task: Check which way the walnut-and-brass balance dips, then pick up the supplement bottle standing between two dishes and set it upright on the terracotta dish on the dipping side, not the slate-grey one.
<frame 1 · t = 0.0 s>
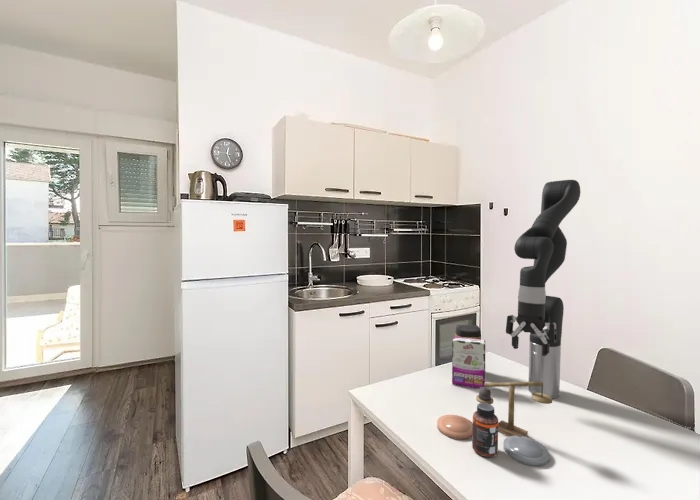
hand: (529, 351, 105), 17 cm above the table, tool pointing down, fingers open, 8 cm apart
coffee jar: (467, 372, 132), on the table
candy bar box: (468, 385, 121), on the table
slate dish: (525, 452, 83), on the table
supplement bottle: (484, 451, 84), on the table
terracotta dish: (455, 428, 94), on the table
balance: (510, 432, 92), on the table
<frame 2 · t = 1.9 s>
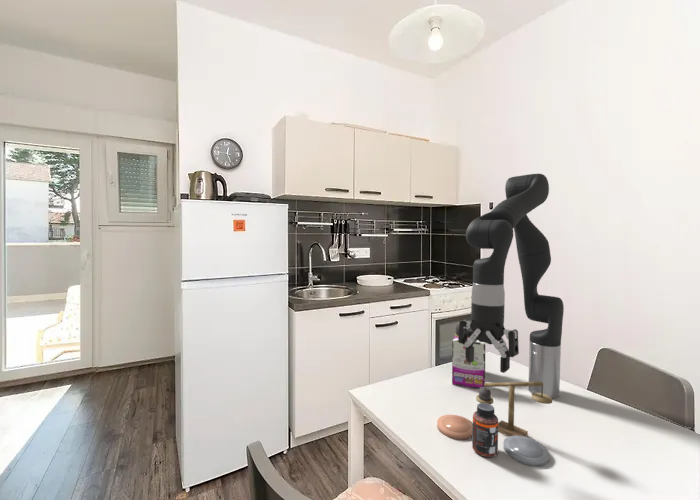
hand: (486, 366, 83), 21 cm above the table, tool pointing down, fingers open, 8 cm apart
nothing on the table moved.
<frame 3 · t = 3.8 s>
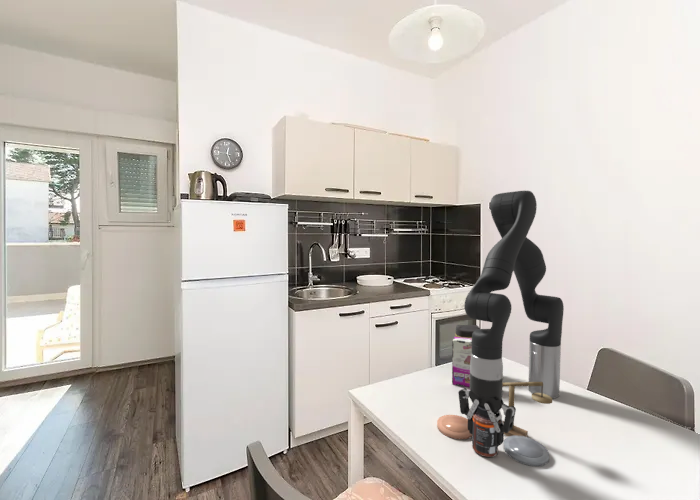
hand: (484, 438, 84), 3 cm above the table, tool pointing down, fingers closed on supplement bottle, 6 cm apart
supplement bottle: (484, 451, 84), on the table, touching gripper
everything else where it was.
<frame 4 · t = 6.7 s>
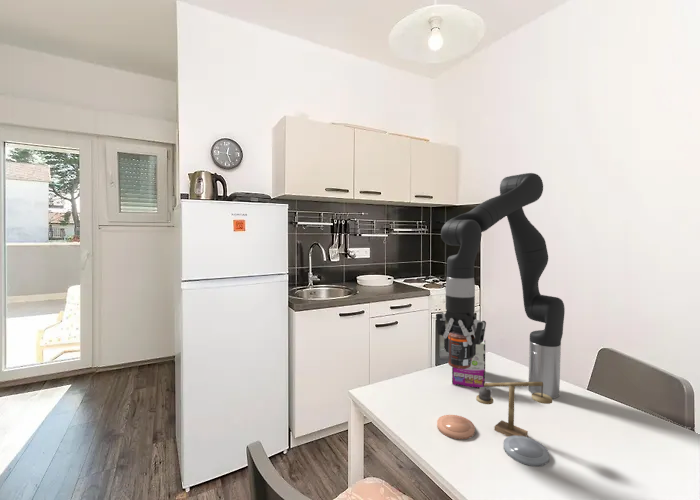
hand: (459, 354, 92), 21 cm above the table, tool pointing down, fingers closed on supplement bottle, 6 cm apart
supplement bottle: (459, 366, 92), point 18 cm above the table, touching gripper
everything else where it was.
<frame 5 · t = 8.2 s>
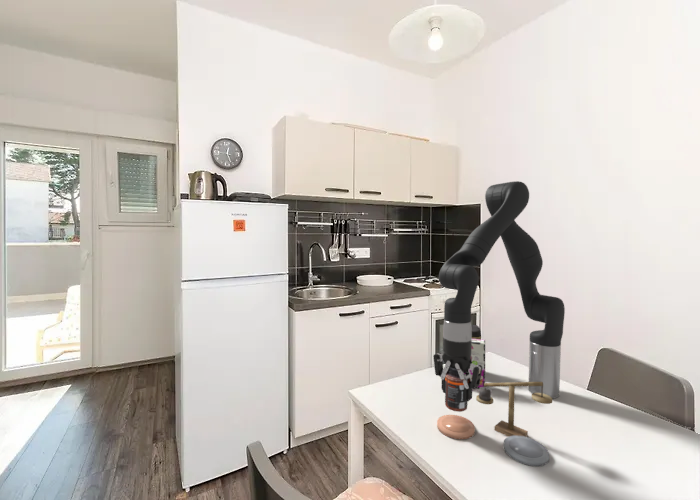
hand: (456, 396, 93), 9 cm above the table, tool pointing down, fingers closed on supplement bottle, 6 cm apart
supplement bottle: (456, 407, 93), point 6 cm above the table, touching gripper
everything else where it was.
when the fingers open (5 cm above the table, at t = 9.3 s): supplement bottle stays where it is, resting on terracotta dish.
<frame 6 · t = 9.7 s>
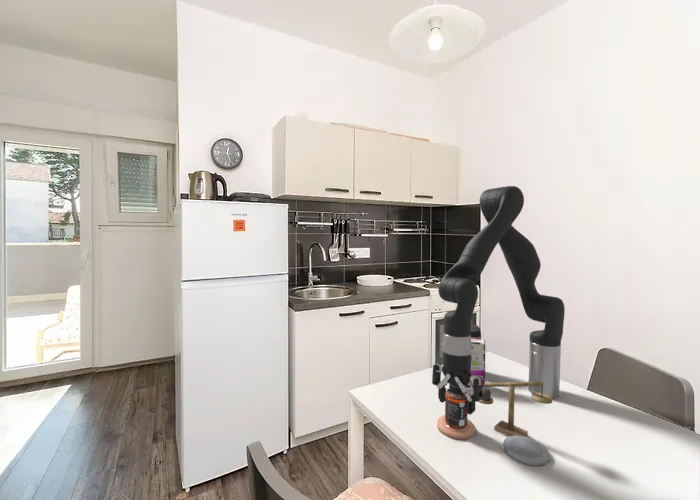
hand: (455, 407, 93), 6 cm above the table, tool pointing down, fingers open, 8 cm apart
supplement bottle: (456, 424, 94), point 1 cm above the table, touching terracotta dish
everything else where it was.
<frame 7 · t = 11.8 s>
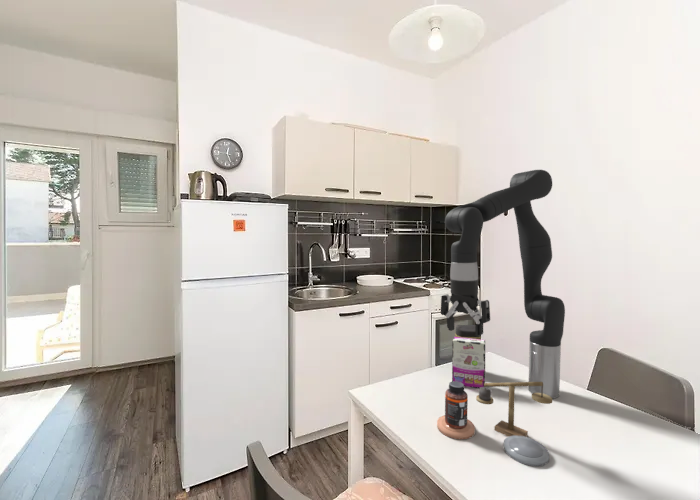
hand: (464, 333, 97), 25 cm above the table, tool pointing down, fingers open, 8 cm apart
nothing on the table moved.
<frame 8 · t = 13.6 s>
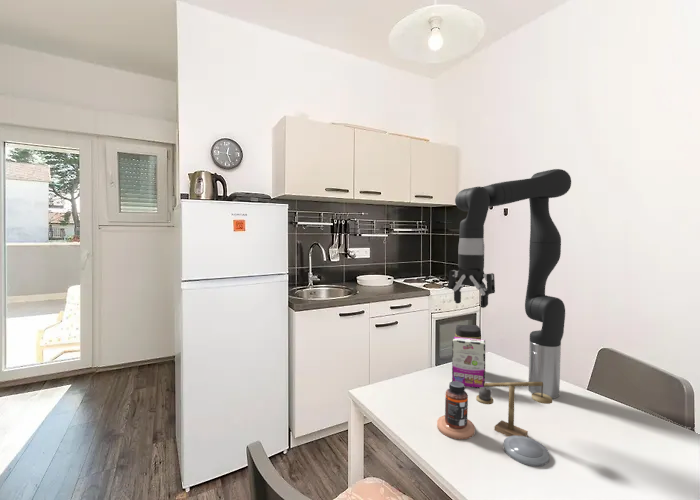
hand: (470, 305, 104), 32 cm above the table, tool pointing down, fingers open, 8 cm apart
nothing on the table moved.
at the end: supplement bottle 0.1 cm off-centre on the terracotta dish, point 1.1 cm above the terracotta dish's base; supplement bottle tilted 0°; the gripper is holding nothing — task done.
